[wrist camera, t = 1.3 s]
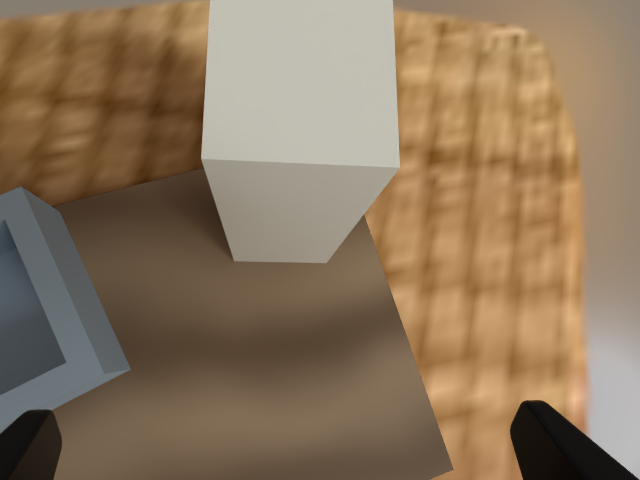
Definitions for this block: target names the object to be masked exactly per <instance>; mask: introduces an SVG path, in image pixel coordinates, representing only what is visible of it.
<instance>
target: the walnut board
mask: <svg viewBox="0 0 640 480" xmlns="http://www.w3.org/2000/svg"><path fill="white" fill-rule="evenodd" d="M52 207H53V208H55V209H56V210H58V211H59V212H60V213H61V215H62V218H63V220H64V222H65V224H66V227H67V229H68V231H69V233H70V235H71V238H72V240H73V242H74V244H75V247H76V249H77V251H78V253H79V255H80V258H81V260H82V262H83V264H84V266H85V269H86V271H87V273H88V275H89V278H90V280H91V282H92V284H93V286H94V289H95V291H96V293H97V295H98V297H99V300H100V302H101V304H102V306H103V309H104V311H105V313H106V315H107V317H108V320H109V322H110V324H111V326H112V328H113V331H114V333H115V335H116V337H117V340H118V342H119V344H120V346H121V348H122V351H123V353H124V355H125V357H126V359H127V362H128V364H129V366H130V368H131V370H129V371H127V372H125V373H123V374H121V375H119V376H117V377H115V378H113V379H111V380H109V381H107V382H105V383H103V384H101V385H99V386H97V387H96V388H94V389H92V390H90V391H88V392H86V393H84V394H82V395H80V396H78V397H76V398H74V399H72V400H70V401H68V402H66V403H64V404H62V405H61V406H59V407H57V408H55V409H53V410H51V411H53V412H54V414H55V417H56V420H57V423H58V426H59V430H60V433H61V436H62V449H61V453H60V457H59V461H58V465H57V468H56V472H55V476H54V479H53V480H429V479H432V478H434V477H437V476H439V475H441V474H444V473H446V472H449V471H451V470H453V467H452V464H451V461H450V458H449V455H448V452H447V450H446V447H445V444H444V441H443V438H442V435H441V433H440V430H439V427H438V424H437V421H436V418H435V416H434V413H433V410H432V407H431V404H430V401H429V398H428V396H427V393H426V390H425V387H424V384H423V381H422V379H421V376H420V373H419V370H418V367H417V364H416V361H415V359H414V356H413V353H412V350H411V347H410V344H409V342H408V339H407V336H406V333H405V330H404V327H403V324H402V322H401V319H400V316H399V313H398V310H397V307H396V305H395V302H394V299H393V296H392V293H391V290H390V287H389V285H388V282H387V279H386V276H385V273H384V270H383V268H382V265H381V262H380V259H379V256H378V253H377V250H376V248H375V245H374V242H373V239H372V236H371V233H370V231H369V228H368V225H367V222H366V219H365V216H364V215H363V216H362V217H361V219H360V220H359V221H358V223H357V224H356V225H355V227H354V228H353V229H352V230H351V232H350V233H349V234H348V236H347V237H346V238H345V240H344V241H343V242H342V243H341V245H340V246H339V247H338V249H337V250H336V251H335V253H334V254H333V255H332V256H331V258H330V259H329V260H328V262H327V263H295V262H242V261H234V259H233V256H232V253H231V250H230V247H229V244H228V241H227V237H226V234H225V231H224V228H223V225H222V222H221V219H220V216H219V213H218V210H217V207H216V203H215V200H214V197H213V194H212V191H211V188H210V185H209V182H208V179H207V176H206V173H205V169H204V168H201V169H197V170H193V171H189V172H185V173H181V174H177V175H174V176H170V177H166V178H162V179H158V180H154V181H150V182H146V183H142V184H138V185H134V186H130V187H126V188H122V189H118V190H114V191H110V192H106V193H102V194H99V195H95V196H91V197H87V198H83V199H79V200H75V201H71V202H67V203H63V204H59V205H55V206H52Z"/></svg>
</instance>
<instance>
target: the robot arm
mask: <svg viewBox="0 0 640 480" xmlns="http://www.w3.org/2000/svg"><path fill="white" fill-rule="evenodd" d="M510 435H511V440H512V443H513V447H514V450H515V453H516V457H517V460H518V464H519V467H520V471H521V474H522V477H523V480H639V479H638V478H637V477H635V476H634V475H633V474H632V473H631V472H630V471H628V470H627V469H626V468H625V467H623V466H622V465H621V464H620V463H619V462H617V461H616V460H615V459H614V458H612V457H611V456H610V455H609V454H608V453H607V452H605V451H604V450H603V449H602V448H601V447H599V446H598V445H597V444H596V443H595V442H593V441H592V440H591V439H590V438H589V437H587V436H586V435H585V434H584V433H583V432H581V431H580V430H579V429H578V428H577V427H575V426H574V425H573V424H572V423H571V422H569V421H568V420H567V419H566V418H565V417H563V416H562V415H561V414H560V413H558V412H557V411H556V410H555V409H554V408H552V407H551V406H550V405H549V404H548V403H546V402H544V401H541V400H527V401H523V402H522V403H521V404H520V406H519V409H518V411H517V413H516V415H515V417H514V420H513V422H512V424H511V428H510ZM61 449H62V436H61V433H60V430H59V426H58V423H57V420H56V417H55V414H54V412H53V411H51V410H49V409H38V410H28V411H26V412H24V413H23V414H21V415H20V416H19V417H18V418H17V419H16V420H15V421H14V422H12V423H11V424H10V425H9V426H8V427H7V428H6V429H5V430H4V431H2V432H1V433H0V480H53V479H54V476H55V472H56V468H57V465H58V461H59V457H60V453H61Z"/></svg>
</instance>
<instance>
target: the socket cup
mask: <svg viewBox="0 0 640 480" xmlns="http://www.w3.org/2000/svg"><path fill="white" fill-rule="evenodd" d="M129 370H131V368H130V366H129V364H128V362H127V359H126V357H125V355H124V353H123V351H122V348H121V346H120V344H119V342H118V340H117V337H116V335H115V333H114V331H113V328H112V326H111V324H110V322H109V320H108V317H107V315H106V313H105V311H104V309H103V306H102V304H101V302H100V300H99V297H98V295H97V293H96V291H95V289H94V286H93V284H92V282H91V280H90V278H89V275H88V273H87V271H86V269H85V266H84V264H83V262H82V260H81V258H80V255H79V253H78V251H77V249H76V247H75V244H74V242H73V240H72V238H71V235H70V233H69V231H68V229H67V227H66V224H65V222H64V220H63V218H62V215H61V213H60V212H59V211H58V210H56V209H55V208H53V207H52V206H50V205H49V204H47V203H46V202H44V201H43V200H41V199H40V198H38V197H37V196H35V195H34V194H32V193H31V192H29V191H28V190H26V189H25V188H23V187H22V186H21V187H18V188H16V189H13V190H11V191H9V192H6V193H4V194H1V195H0V433H1V432H2V431H4V430H5V429H6V428H7V427H8V426H9V425H10V424H11V423H12V422H14V421H15V420H16V419H17V418H18V417H19V416H20V415H21V414H23V413H24V412H26V411H28V410H38V409H49V410H53V409H55V408H57V407H59V406H61V405H62V404H64V403H66V402H68V401H70V400H72V399H74V398H76V397H78V396H80V395H82V394H84V393H86V392H88V391H90V390H92V389H94V388H96V387H97V386H99V385H101V384H103V383H105V382H107V381H109V380H111V379H113V378H115V377H117V376H119V375H121V374H123V373H125V372H127V371H129Z"/></svg>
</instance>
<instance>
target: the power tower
mask: <svg viewBox="0 0 640 480" xmlns="http://www.w3.org/2000/svg"><path fill="white" fill-rule="evenodd" d="M201 160H202V163H203V166H204V169H205V173H206V176H207V179H208V182H209V185H210V188H211V191H212V194H213V197H214V200H215V203H216V207H217V210H218V213H219V216H220V219H221V222H222V225H223V228H224V231H225V234H226V237H227V241H228V244H229V247H230V250H231V253H232V256H233V259H234V261H242V262H295V263H327V262H328V260H329V259H330V258H331V256H332V255H333V254H334V253H335V251H336V250H337V249H338V247H339V246H340V245H341V243H342V242H343V241H344V240H345V238H346V237H347V236H348V234H349V233H350V232H351V230H352V229H353V228H354V227H355V225H356V224H357V223H358V221H359V220H360V219H361V217H362V216H363V215H364V214H365V212H366V211H367V210H368V208H369V207H370V206H371V204H372V203H373V202H374V201H375V199H376V198H377V197H378V195H379V194H380V193H381V191H382V190H383V189H384V188H385V186H386V185H387V184H388V182H389V181H390V180H391V178H392V177H393V176H394V175H395V173H396V172H397V171H398V169H399V168H400V160H399V137H398V113H397V90H396V66H395V43H394V19H393V0H210V13H209V31H208V48H207V65H206V83H205V100H204V117H203V135H202V152H201Z"/></svg>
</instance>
